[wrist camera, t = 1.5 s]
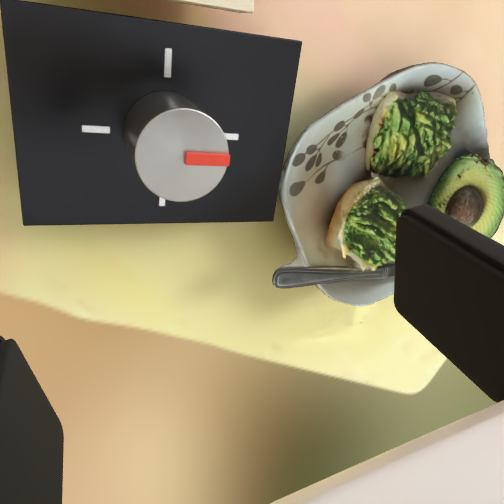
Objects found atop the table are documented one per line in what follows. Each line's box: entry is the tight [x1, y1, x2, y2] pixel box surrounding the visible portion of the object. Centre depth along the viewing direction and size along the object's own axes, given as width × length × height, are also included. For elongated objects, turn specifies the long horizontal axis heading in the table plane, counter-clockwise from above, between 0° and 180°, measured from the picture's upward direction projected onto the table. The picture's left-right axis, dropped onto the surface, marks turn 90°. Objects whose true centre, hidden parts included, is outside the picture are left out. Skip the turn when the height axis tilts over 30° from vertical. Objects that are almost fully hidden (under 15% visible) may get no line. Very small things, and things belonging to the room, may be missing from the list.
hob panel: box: [0, 0, 302, 226], centre depth 26 cm, size 15×11×3 cm
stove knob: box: [124, 91, 230, 202], centre depth 22 cm, size 4×4×5 cm
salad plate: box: [272, 63, 504, 306], centre depth 32 cm, size 19×18×5 cm
